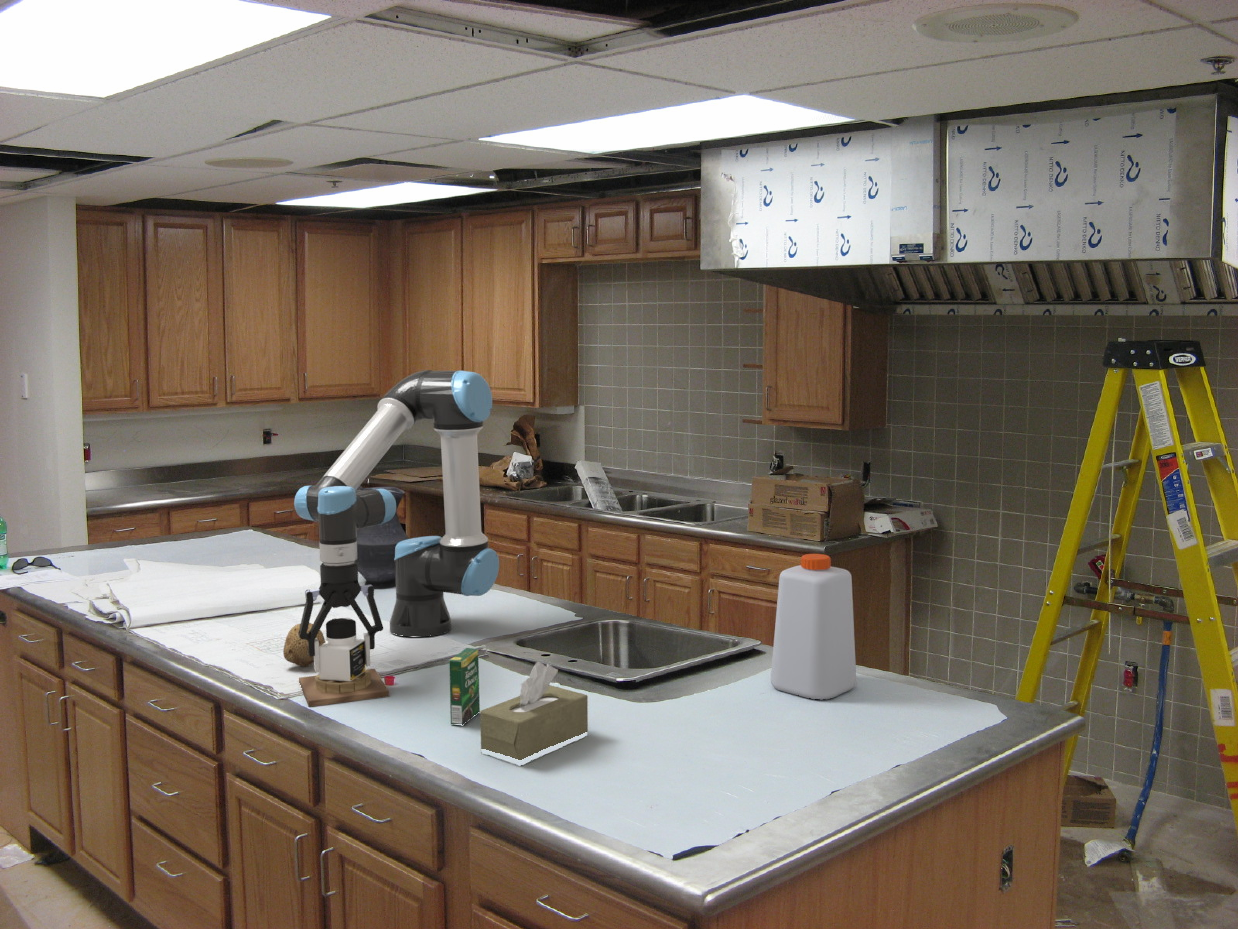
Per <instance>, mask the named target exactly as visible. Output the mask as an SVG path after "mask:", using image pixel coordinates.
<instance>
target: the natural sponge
mask: <svg viewBox="0 0 1238 929" xmlns="http://www.w3.org/2000/svg"><path fill="white" fill-rule="evenodd" d="M300 624H301V623H296V624H295V625H293V627H292V628H290V630H289V631H288V633H287V635H286V637H285V641H284V646H283V657H284V659H285V660H286V661H287V662H289V663H291V664H294V665H297V666H298V667H303V668H307V667H309V666H311V665H312V664H314V656H310V655H309V653H308V641H307V640H305V639H300V637H299V635H298V633H299V628H300ZM312 625H313V623H312V622H309V625H308V629H307V633H309V631H310V629H311V627H312ZM316 638H317V639H318V641H319V646H321V645H322V644H324V643H325V642H326V638H325V636H324V633H323V632H322V630H321V629H320V630H319V632H318V634H317V636H316Z"/></svg>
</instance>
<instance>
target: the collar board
mask: <svg viewBox="0 0 1238 929" xmlns="http://www.w3.org/2000/svg"><path fill="white" fill-rule="evenodd" d="M299 683H300V684H299ZM298 684H299V686H300V685H301V687H300V688H302V689H301V691H303V692H302V694H303V696H304V699H305V701H306V704H307V706H308V707H309V708H310V707H319V706H325V705H326V706H327V705H335V704H341V703H350V702H357V701H364V700H365V701H366V700H373V699H379V698H380V699H381V698H388V697H390V690H389V689H388V687H387V686H386V684H385V682H384V681H383V680H382V678H381V676H380V674H379V673H378V671H377V670H376V668H367V669H365V672H364V673H362V674H361V675H359V676H358V677H357V678H355V679H354V680H352V681H351V682H347V681H332V680H320V678H319V673H318V674H317V675H311V676H303V677H302V676H300V677H298Z"/></svg>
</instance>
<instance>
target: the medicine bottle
mask: <svg viewBox="0 0 1238 929" xmlns="http://www.w3.org/2000/svg"><path fill="white" fill-rule="evenodd" d="M325 634H326V636H325V643H324V644H322V645H321V646H319V664H320V672H318V674H319V678H320V680H332V681H347V682H351V681H352V680H354V679H355V678H357V677H358V676H359V675H361V674H362V673H364V672H365V670H366V665H365V647H364V638H357V622H356V620H354V619H353V618H351V617H336V618H335V617H334V618H332V619H330V620H327V622H326V623H325Z"/></svg>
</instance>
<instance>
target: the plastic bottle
mask: <svg viewBox="0 0 1238 929" xmlns="http://www.w3.org/2000/svg"><path fill="white" fill-rule="evenodd" d="M831 562H832V559H831V557H830V556H829V555H827V554H823V553H822V554H821V553H806V554H803V555H802V556H801V558H800V565H796V566H792V567H789V568H786V569H784V570H782V571H781V572H780V574H779V576H778V577H779V579H778V590H777V601H776V602H777V603H776V613H775V625H774V626H775V627H774V637H773V648H772V659H771V668H770V669H771V670H770V671H771V672H770V684H771V686H772V687H773V688H774V689H775V690H778V691H780V692H784V693H788V694H791V695H794V696H798V695H799V697H802V698H807V699H809V698H811V700H815V699H820V700H819V701H824V700H823V699H826V700H830V698H831V699H834V698H835V697H838V696H840V695H842V694H844V693H846V692H848V691H851V690H852V689H854V688H855V687H856V684H857V670H856V668H857V667H856V666H857V664H856V649H855V646H856V645H855V644H856V642H855V626H854V625H855V624H854V623H855V622H854V601H853V598H854V597H853V584H852V583H853V582H852V581H853V580H852V573H851V572H850V571H849V570H847V569H845V568H841V567H836V566H831V565H832V563H831Z"/></svg>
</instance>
